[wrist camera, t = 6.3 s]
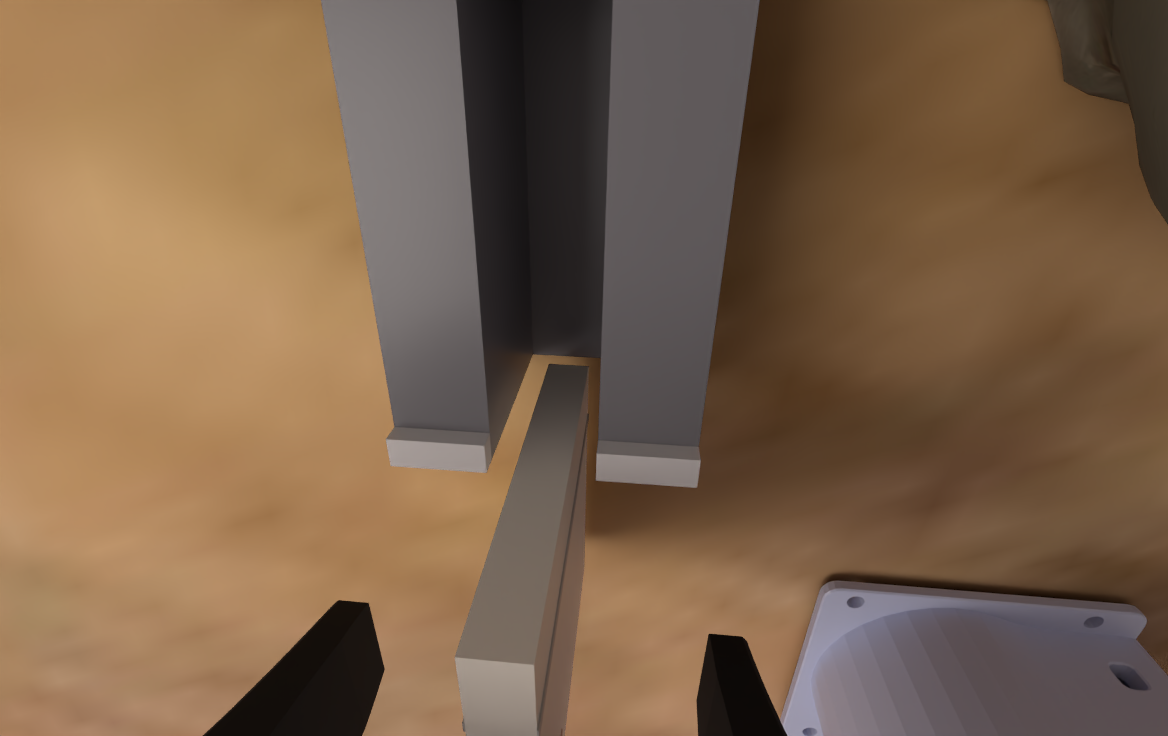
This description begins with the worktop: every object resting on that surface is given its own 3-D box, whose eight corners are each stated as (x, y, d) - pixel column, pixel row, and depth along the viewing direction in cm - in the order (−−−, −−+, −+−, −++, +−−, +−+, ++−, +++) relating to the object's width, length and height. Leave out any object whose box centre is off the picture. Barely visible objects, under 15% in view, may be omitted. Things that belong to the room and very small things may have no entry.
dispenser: (724, -77, 10) (795, -205, 6) (678, 353, 15) (697, 487, 10) (433, -76, 11) (268, -196, 6) (470, 342, 15) (390, 465, 10)
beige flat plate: (589, 366, 14) (536, 665, 7) (585, 566, 17) (546, 909, 10) (547, 364, 14) (452, 656, 7) (551, 564, 17) (488, 901, 10)
